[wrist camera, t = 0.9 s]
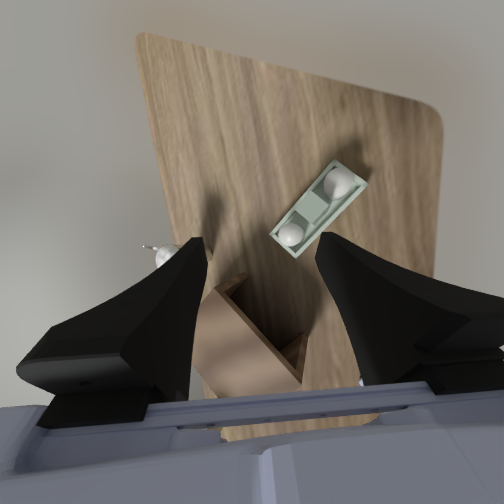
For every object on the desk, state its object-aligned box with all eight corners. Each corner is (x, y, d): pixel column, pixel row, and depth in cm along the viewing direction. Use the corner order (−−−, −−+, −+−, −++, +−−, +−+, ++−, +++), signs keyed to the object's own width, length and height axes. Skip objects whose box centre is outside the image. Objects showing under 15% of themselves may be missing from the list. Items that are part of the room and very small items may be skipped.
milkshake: (201, 232, 32) (151, 233, 23) (220, 254, 31) (176, 264, 22) (188, 250, 33) (136, 257, 24) (205, 271, 32) (159, 287, 23)
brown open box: (308, 338, 27) (301, 384, 19) (262, 373, 30) (239, 426, 22) (243, 272, 30) (213, 288, 21) (208, 312, 33) (171, 338, 25)
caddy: (365, 188, 22) (382, 170, 16) (297, 256, 26) (289, 265, 20) (333, 164, 23) (336, 138, 17) (272, 234, 27) (257, 235, 21)
